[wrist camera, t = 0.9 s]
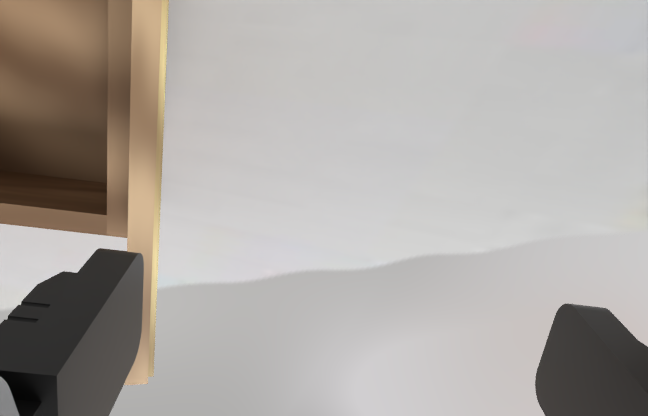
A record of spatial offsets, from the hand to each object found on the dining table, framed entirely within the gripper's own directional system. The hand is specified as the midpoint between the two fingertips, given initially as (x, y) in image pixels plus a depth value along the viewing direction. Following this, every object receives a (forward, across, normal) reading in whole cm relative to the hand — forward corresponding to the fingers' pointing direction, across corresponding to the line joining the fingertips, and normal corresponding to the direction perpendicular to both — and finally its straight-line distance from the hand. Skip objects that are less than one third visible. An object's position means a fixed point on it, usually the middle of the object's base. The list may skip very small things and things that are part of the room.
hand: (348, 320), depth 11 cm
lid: (+14, +8, 0) cm, 16 cm away
